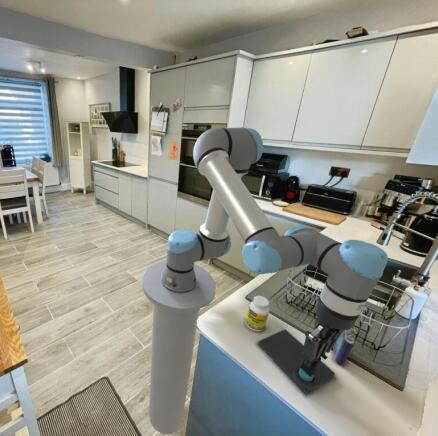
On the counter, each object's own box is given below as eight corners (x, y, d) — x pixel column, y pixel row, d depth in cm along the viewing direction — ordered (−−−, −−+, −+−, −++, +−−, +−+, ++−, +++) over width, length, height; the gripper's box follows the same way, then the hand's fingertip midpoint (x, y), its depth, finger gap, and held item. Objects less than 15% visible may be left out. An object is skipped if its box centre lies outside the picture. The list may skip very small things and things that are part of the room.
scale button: (295, 372, 66) (297, 368, 65) (303, 368, 67) (305, 364, 66) (307, 383, 63) (308, 380, 63) (314, 379, 64) (316, 375, 64)
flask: (332, 339, 79) (344, 316, 74) (343, 344, 77) (356, 320, 73) (333, 362, 71) (347, 337, 67) (346, 368, 70) (360, 343, 66)
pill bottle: (242, 326, 83) (249, 302, 78) (247, 315, 87) (253, 291, 83) (262, 335, 80) (269, 310, 75) (265, 323, 84) (273, 299, 80)
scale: (256, 344, 76) (258, 338, 75) (284, 332, 81) (286, 325, 80) (305, 397, 63) (309, 390, 61) (335, 378, 67) (339, 371, 66)
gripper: (338, 326, 49) (303, 395, 59) (374, 308, 54) (336, 374, 64) (303, 301, 55) (277, 367, 65) (339, 287, 60) (309, 350, 70)
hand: (307, 370), depth 64 cm, fingers closed
